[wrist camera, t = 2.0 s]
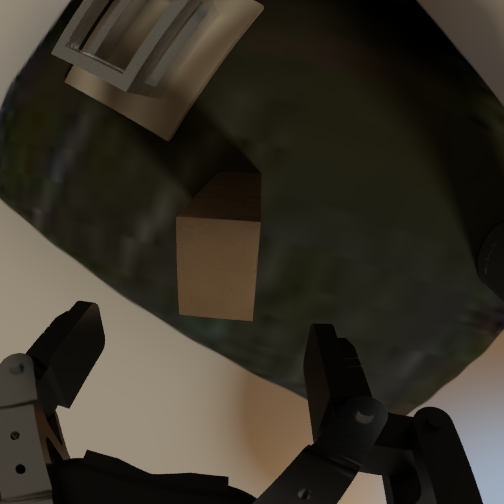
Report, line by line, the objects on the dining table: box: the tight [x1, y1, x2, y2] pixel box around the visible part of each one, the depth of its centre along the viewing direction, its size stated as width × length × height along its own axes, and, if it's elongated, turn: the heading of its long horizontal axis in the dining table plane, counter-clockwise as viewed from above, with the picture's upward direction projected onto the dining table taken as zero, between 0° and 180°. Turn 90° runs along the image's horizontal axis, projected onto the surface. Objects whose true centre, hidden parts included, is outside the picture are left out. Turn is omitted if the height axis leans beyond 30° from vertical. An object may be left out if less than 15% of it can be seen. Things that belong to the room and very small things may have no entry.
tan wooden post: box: [176, 171, 261, 321], centre depth 23 cm, size 4×6×16 cm
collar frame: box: [51, 0, 219, 99], centre depth 20 cm, size 8×10×8 cm
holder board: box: [65, 0, 264, 141], centre depth 24 cm, size 14×16×1 cm
